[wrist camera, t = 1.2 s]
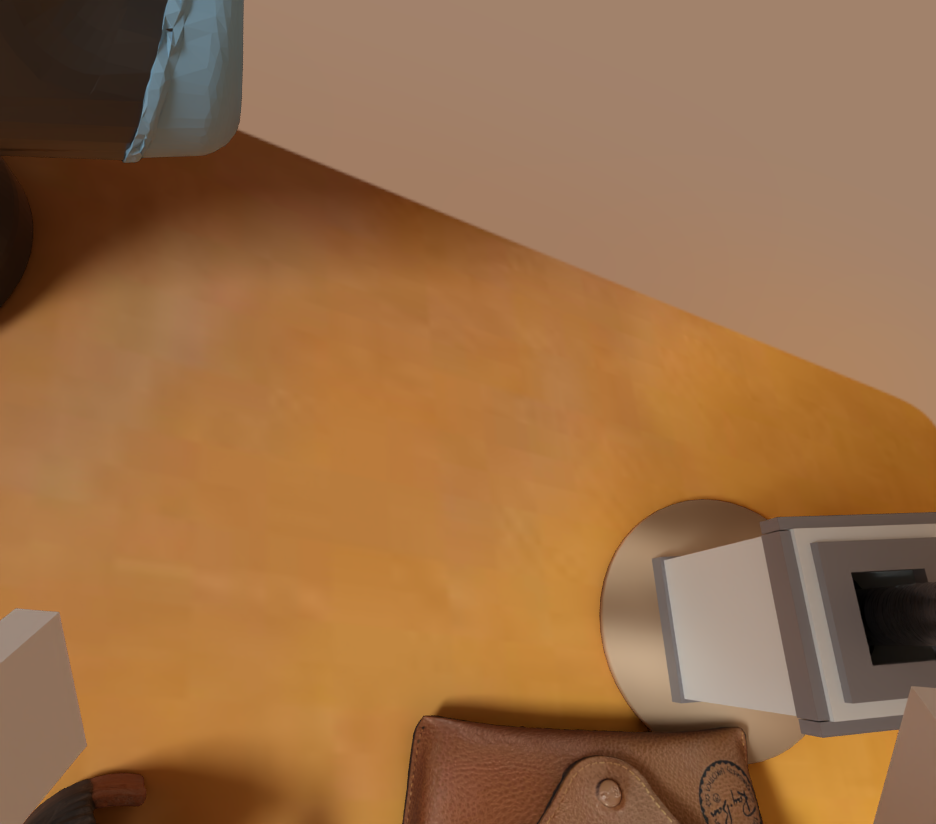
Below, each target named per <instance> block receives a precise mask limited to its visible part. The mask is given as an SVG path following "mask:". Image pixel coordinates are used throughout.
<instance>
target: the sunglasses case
mask: <svg viewBox="0 0 936 824" xmlns="http://www.w3.org/2000/svg"><path fill="white" fill-rule="evenodd" d="M747 753H748V752H747V740H746V734H745V732H744V731H743V729H742V728H740V727H719V728H712V729H704V730H694V731H680V732H623V731H596V730H594V731H586V730H579V729H577V730H566V729H564V730H560V729H551V728H526V727H523V726H522V727H513V726H500V725H492V724H485V723H476V722H470V721H464V720H458V719H452V718H445V717H441V716H423V717H422V719H421V720H420V721H419V723H418V724H417V726H416V728H415V731H414V733H413V741H412V748H411V755H410V763H409V771H408V781H407V792H406V799H405V808H404V815H403V823H402V824H763V821H762V817H761V814H760V811H759V806H758V803H757V799H756V796H755V792H754V789H753V785H752V781H751V778H750V775H749V772H748V754H747Z"/></svg>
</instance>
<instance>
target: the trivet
mask: <svg viewBox="0 0 936 824" xmlns="http://www.w3.org/2000/svg"><path fill="white" fill-rule="evenodd" d="M766 520H767V519H765V518H764V517H762V516H761V515H759V514H757V513H755V512H753V511H751V510H749V509H747V508H745V507H742V506H739V505H736V504H733V503H729V502H724V501H718V500H704V499H701V500H690V501H685V502H681V503H677V504H673V505H671V506H668V507H666V508H663V509H661V510H659V511H656V512H655V513H653V514H651V515H650V516H648V517H646V518H645V519H643V520H642V521H641V522H640V523H639V524H637V525H636V526H635V527H634V528H633V529H632V530H631V531H630V532H629V533H628V534H627V536H626V537H625V538H624V539H623V541H622V542H621V544H620V545H619V547H618V548H617V550H616V551H615V553H614V555H613V557H612V559H611V562H610V564H609V566H608V569H607V572H606V575H605V578H604V582H603V587H602V592H601V598H600V631H601V638H602V643H603V649H604V653H605V656H606V659H607V663H608V666H609V669H610V671H611V674H612V676H613V678H614V681H615V683H616V685H617V687H618V689H619V690H620V692H621V694H622V696H623V697H624V699H625V701H626V702H627V704H628V705H629V706H630V708H631V709H632V710H633V712H634V713H635V714H636V716H637V717H638V718H639V719H640V720H641V721H642V722H643V723H644V724H645V725H646V726H647V727H648V728H649V729H650V730H651V731H652V732H680V731H694V730H704V729H712V728H719V727H740V728H742V729H743V731H744V732H745V734H746V740H747V752H748V753H747V754H748V764H751V763H756V762H761V761H765V760H767V759H770V758H772V757H775V756H777V755H779V754H781V753H783V752H784V751H786V750H788V749H789V748H791V747H792V746H793V745H794V744H796V743H797V742H798V741H799V740H801V739H802V738H803V737H804V735H805V734H801V730H800V725H799V720H798V719H801V718H797V716H792V715H786V714H779V713H773V712H766V711H760V710H753V709H747V708H740V707H734V706H727V705H721V704H714V703H708V702H692V703H676V702H672V696H671V689H670V682H669V675H668V668H667V661H666V655H665V648H664V641H663V634H662V627H661V620H660V613H659V606H658V599H657V592H656V585H655V578H654V571H653V565H652V559H654V558H658V557H669V556H684V555H688V554H692V553H696V552H700V551H704V550H708V549H712V548H717V547H721V546H725V545H729V544H733V543H737V542H741V541H745V540H749V539H753V538H757V537H761V535H765V534H762V532H761V527H760V522H762V521H766Z"/></svg>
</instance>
